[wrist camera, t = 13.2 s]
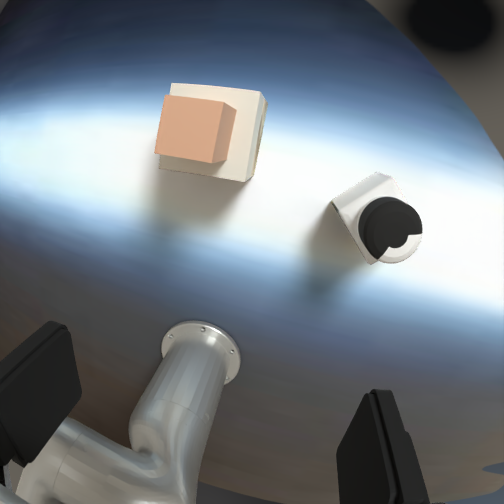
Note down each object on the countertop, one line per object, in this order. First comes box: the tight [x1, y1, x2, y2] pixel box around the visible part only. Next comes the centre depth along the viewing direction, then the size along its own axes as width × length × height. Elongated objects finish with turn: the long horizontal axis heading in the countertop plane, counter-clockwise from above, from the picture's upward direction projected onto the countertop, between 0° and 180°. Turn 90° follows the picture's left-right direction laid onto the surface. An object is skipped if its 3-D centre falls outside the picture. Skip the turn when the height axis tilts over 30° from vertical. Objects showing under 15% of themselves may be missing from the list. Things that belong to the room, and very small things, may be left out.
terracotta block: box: [154, 95, 237, 163], centre depth 27 cm, size 5×5×6 cm
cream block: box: [159, 83, 265, 182], centre depth 32 cm, size 9×9×4 cm
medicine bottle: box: [331, 172, 422, 264], centre depth 33 cm, size 7×7×12 cm
